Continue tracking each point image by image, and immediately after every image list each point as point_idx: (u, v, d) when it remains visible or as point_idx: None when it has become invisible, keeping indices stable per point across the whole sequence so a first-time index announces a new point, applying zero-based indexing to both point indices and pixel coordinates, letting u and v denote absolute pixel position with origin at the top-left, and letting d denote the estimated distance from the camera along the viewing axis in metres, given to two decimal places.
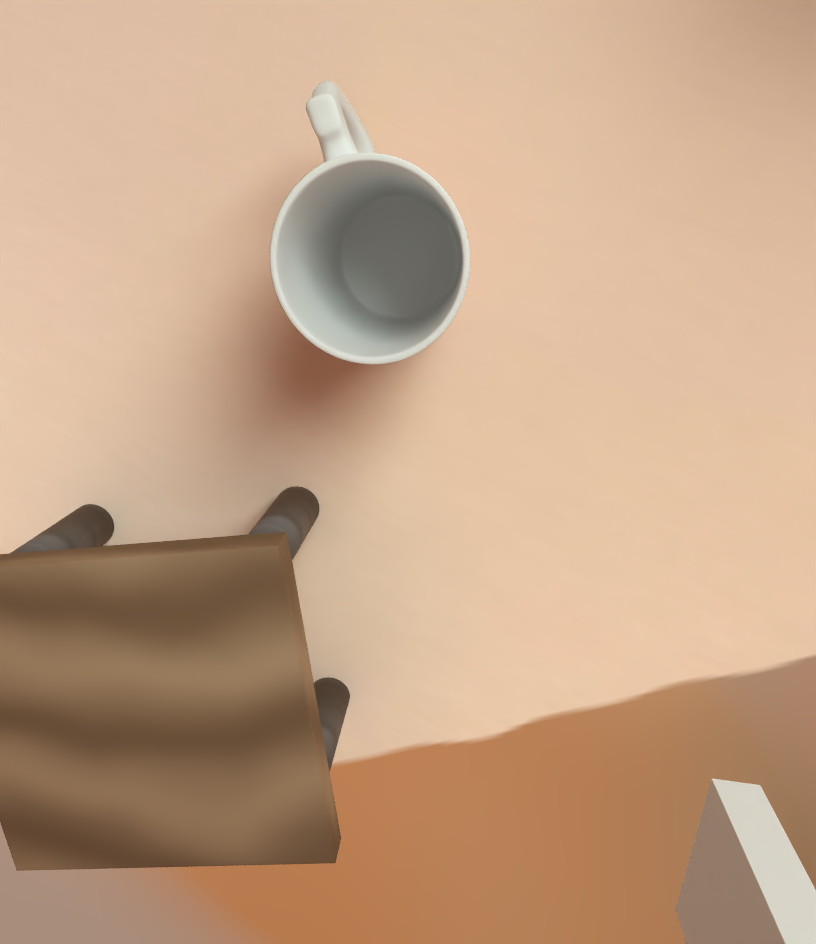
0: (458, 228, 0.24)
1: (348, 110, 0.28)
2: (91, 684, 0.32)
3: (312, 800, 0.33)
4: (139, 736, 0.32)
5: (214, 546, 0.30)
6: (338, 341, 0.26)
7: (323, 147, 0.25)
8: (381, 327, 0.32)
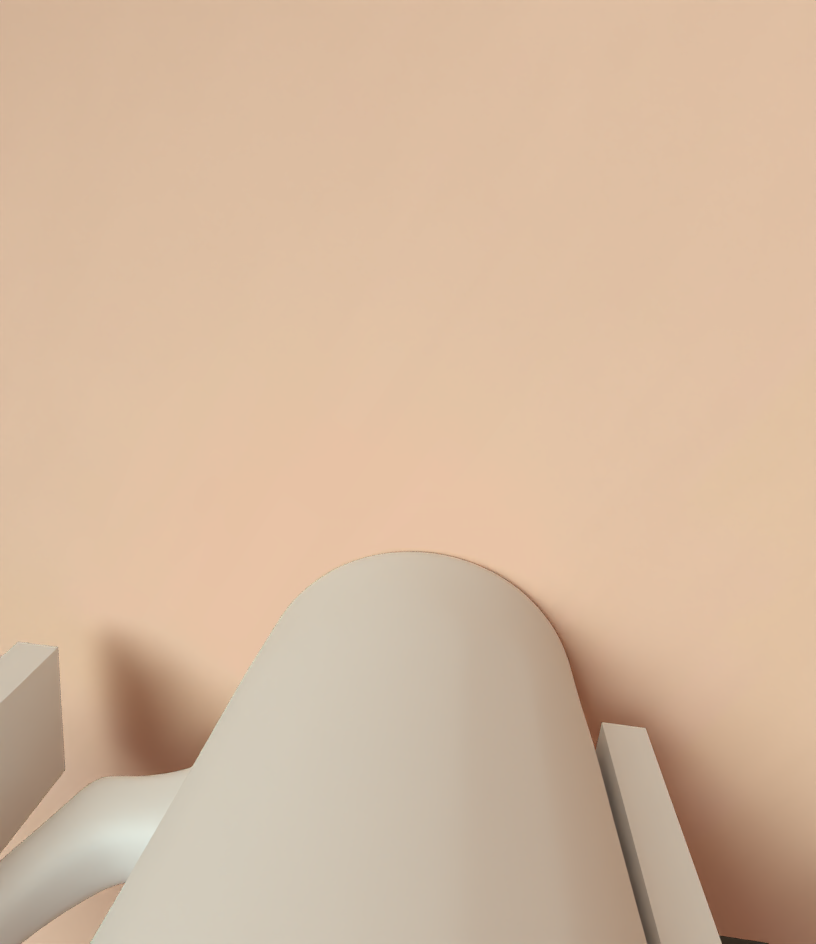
0: None
1: None
2: None
3: None
4: None
5: None
6: None
7: None
8: None
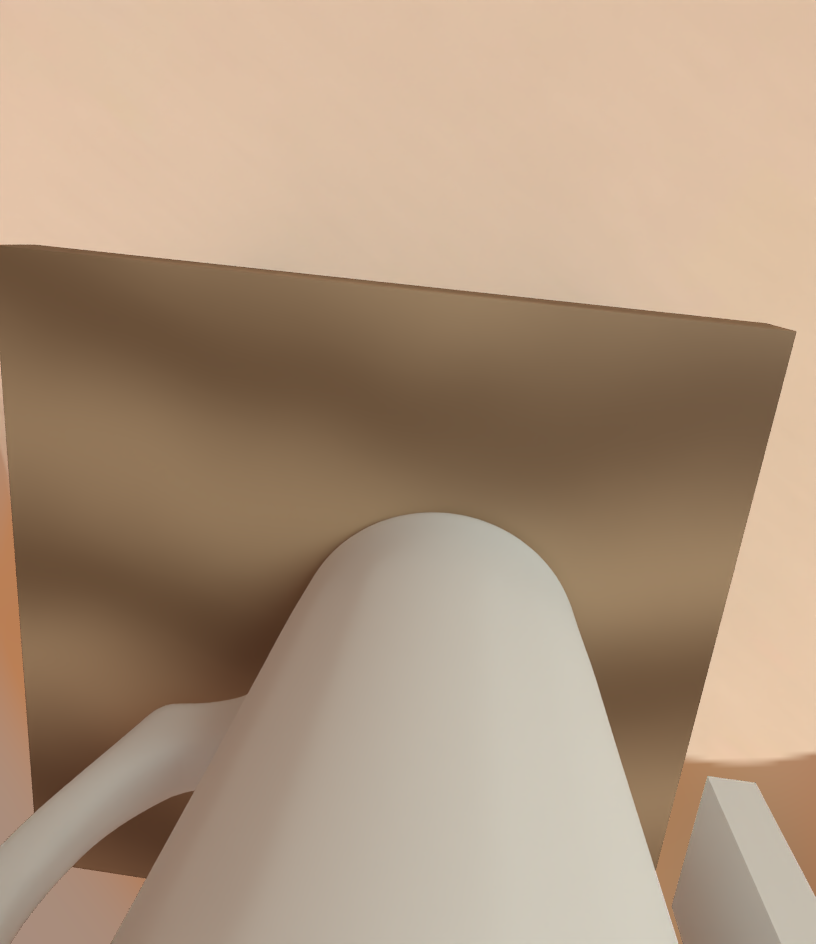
0: None
1: (37, 847, 0.11)
2: (293, 549, 0.16)
3: None
4: None
5: (644, 313, 0.14)
6: None
7: None
8: None
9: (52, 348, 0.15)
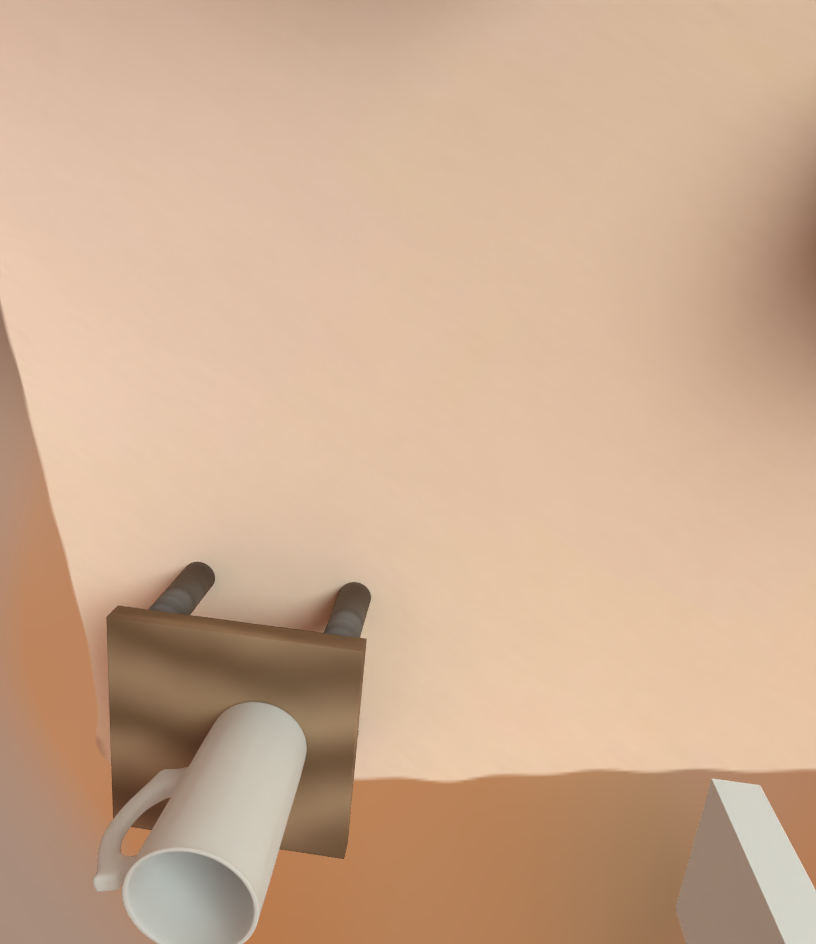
0: (175, 850, 0.34)
1: (129, 812, 0.41)
2: (208, 711, 0.46)
3: (340, 815, 0.48)
4: None
5: (318, 642, 0.44)
6: (250, 912, 0.37)
7: None
8: None
9: (125, 647, 0.45)
